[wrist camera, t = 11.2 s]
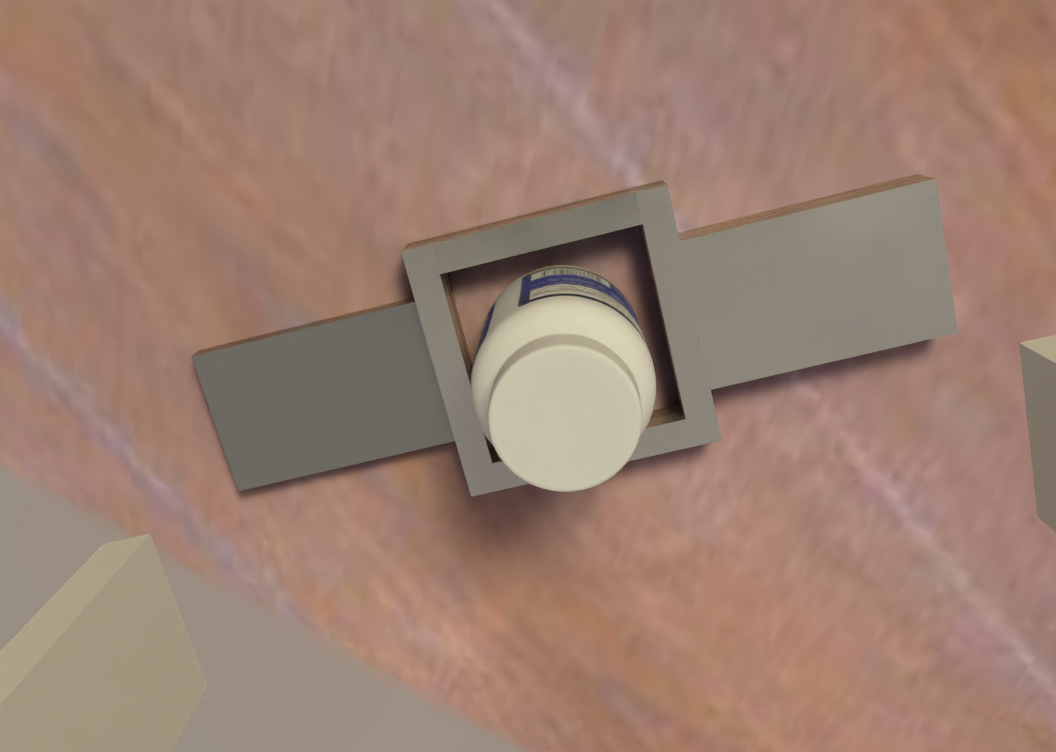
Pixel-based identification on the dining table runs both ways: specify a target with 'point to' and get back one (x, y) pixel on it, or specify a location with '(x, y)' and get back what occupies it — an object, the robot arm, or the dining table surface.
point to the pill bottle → (563, 378)
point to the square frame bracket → (684, 305)
